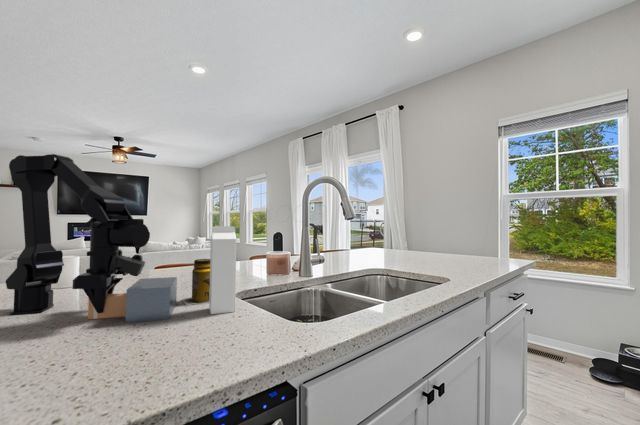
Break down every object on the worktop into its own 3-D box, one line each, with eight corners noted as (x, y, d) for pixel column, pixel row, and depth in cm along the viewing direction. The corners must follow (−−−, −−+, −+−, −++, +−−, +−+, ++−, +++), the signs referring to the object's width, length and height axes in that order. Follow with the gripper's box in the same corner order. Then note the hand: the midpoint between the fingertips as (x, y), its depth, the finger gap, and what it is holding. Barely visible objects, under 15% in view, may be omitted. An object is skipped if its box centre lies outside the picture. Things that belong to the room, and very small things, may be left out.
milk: (235, 312, 78) (237, 226, 79) (210, 314, 76) (212, 226, 76) (232, 306, 84) (233, 226, 84) (208, 308, 81) (210, 225, 82)
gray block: (122, 323, 69) (123, 289, 69) (137, 306, 82) (138, 278, 82) (169, 319, 72) (170, 287, 72) (176, 303, 85) (176, 277, 86)
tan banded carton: (87, 319, 71) (88, 297, 71) (92, 315, 74) (93, 294, 74) (154, 313, 76) (155, 293, 76) (156, 310, 79) (157, 290, 79)
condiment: (217, 301, 88) (218, 260, 89) (186, 305, 84) (187, 262, 84) (211, 296, 94) (212, 257, 95) (181, 300, 90) (182, 259, 90)
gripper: (132, 249, 68) (130, 319, 67) (149, 243, 86) (148, 299, 85) (72, 250, 64) (70, 324, 64) (103, 243, 82) (101, 302, 81)
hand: (102, 310), depth 74 cm, fingers closed on tan banded carton, 3 cm apart
